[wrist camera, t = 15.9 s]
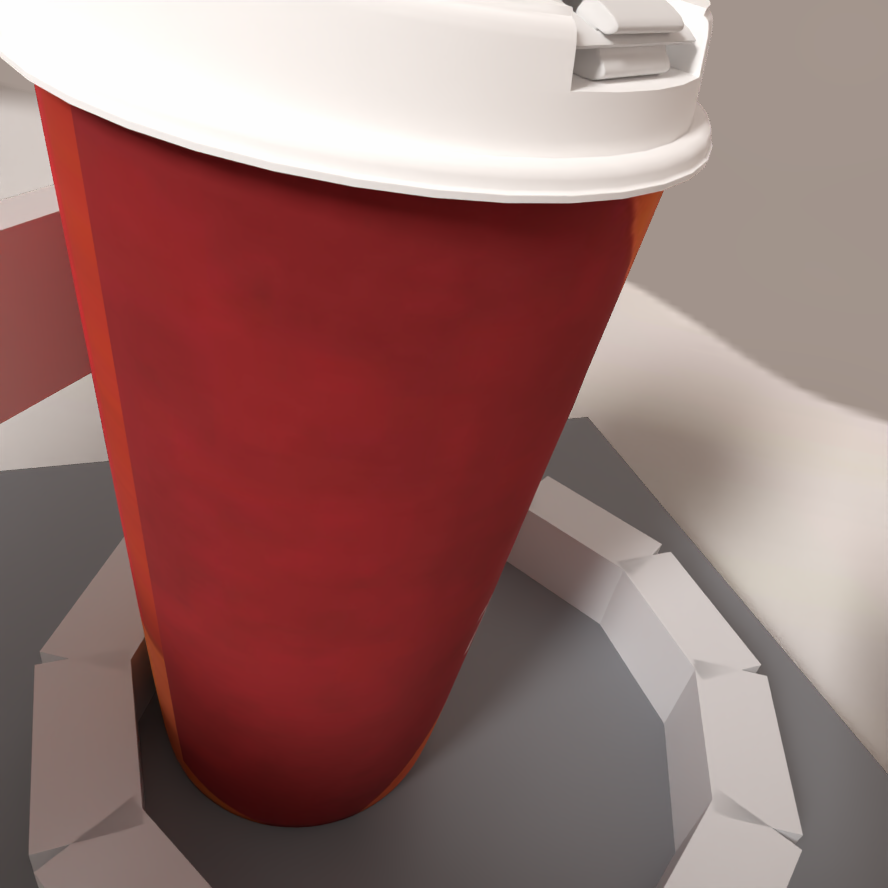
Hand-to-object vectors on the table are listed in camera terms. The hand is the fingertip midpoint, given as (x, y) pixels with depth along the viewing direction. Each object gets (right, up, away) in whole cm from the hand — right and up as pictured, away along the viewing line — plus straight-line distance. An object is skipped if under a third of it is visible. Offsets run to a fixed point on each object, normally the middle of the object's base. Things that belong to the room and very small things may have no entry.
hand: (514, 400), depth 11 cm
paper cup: (-4, -6, +6) cm, 9 cm away
